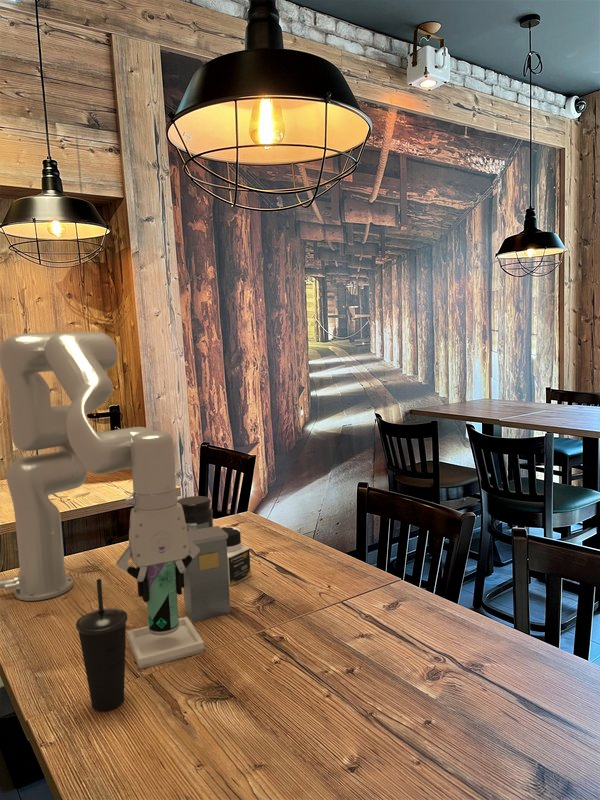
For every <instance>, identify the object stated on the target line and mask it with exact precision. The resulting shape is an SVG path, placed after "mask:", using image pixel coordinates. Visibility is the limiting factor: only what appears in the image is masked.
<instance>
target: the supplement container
mask: <svg viewBox="0 0 600 800" xmlns="http://www.w3.org/2000/svg"><path fill="white" fill-rule="evenodd" d="M177 502H178V503H180V504H181V505H182V508H183V512H184V516H185V522H186V528H187V531H191V530H197V529H202V528H208V527H214V523H213V522H214V521H213V520H214V519H213V514H214V513H213V508H211V499H210V498H209V497H208V496H205V495H204V496H203V495H202V496H201V495H194V496H192V495H191V496H185V497H181V498H180V499H177Z"/></svg>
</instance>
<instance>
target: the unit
mask: <svg viewBox="0 0 600 800" xmlns="http://www.w3.org/2000/svg"><path fill="white" fill-rule="evenodd" d="M221 528H222V527H220V526H219V525H215V526H214V525H213V527H208V528H202V529H197V530H191V531H187V536H188V538H189V539H190V540H191V541H192V542H193V543H194V544H195V545H197V546H198V547H199V548H200V551H199V553H198V554H197V555H196V556H195V557H194V558H193V559H192V561H191V563H190V564H189V565H188V566H187V568H186V570H185V572H184V587H183V588H182V590H183V605H184V612H185V613H186V614H187V617H188V619H189V620H190V622H191V623H196V622H200V621H204V620H208V619H211V618H217V617H219V616H224V615H228V614H231V603H230V601H231V599H230V598H231V597H230V586H229V578H228V559H227V541H226V538H228V534H227V533H226V532H225V531H224V530H222V529H221ZM183 548H184V547H183Z"/></svg>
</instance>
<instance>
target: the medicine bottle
mask: <svg viewBox="0 0 600 800" xmlns="http://www.w3.org/2000/svg"><path fill="white" fill-rule="evenodd" d="M220 528H221V529H222V530H224V531H225V532H226V533H227V534H228V538H226V541H227V559H228V578H229V587H232V586H233V585H235V584H237V582H238V583H239V582H241V581H243V580H245V579H247V578H250V577H251V575H252V572H251V555H250V553H251V551H250V547H248V546H244V545H242V533H241V529H240V528H238V527H234V526H223V527H220Z"/></svg>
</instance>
